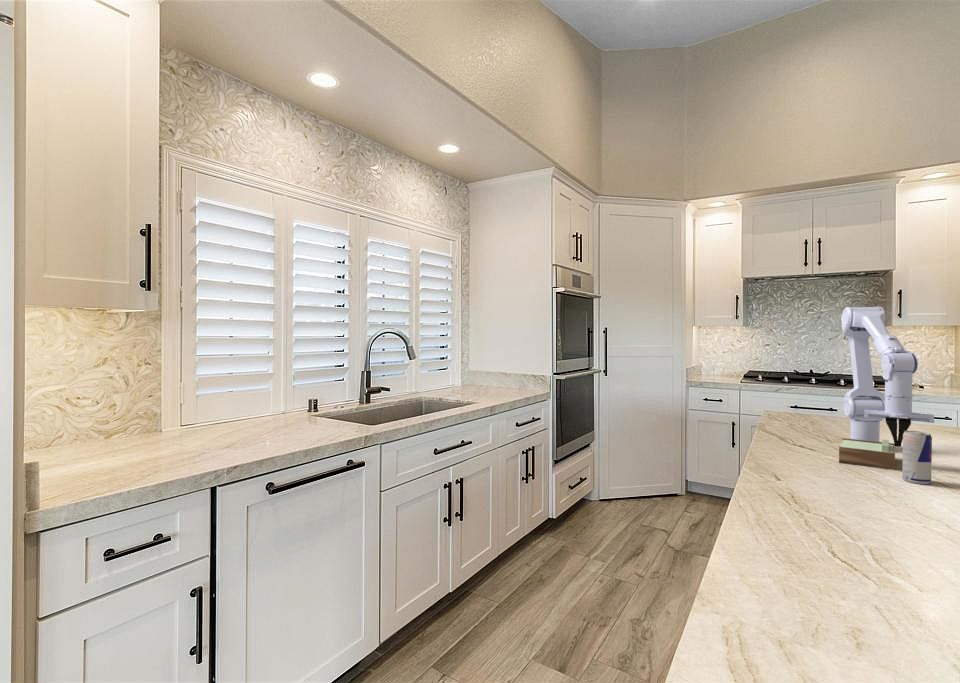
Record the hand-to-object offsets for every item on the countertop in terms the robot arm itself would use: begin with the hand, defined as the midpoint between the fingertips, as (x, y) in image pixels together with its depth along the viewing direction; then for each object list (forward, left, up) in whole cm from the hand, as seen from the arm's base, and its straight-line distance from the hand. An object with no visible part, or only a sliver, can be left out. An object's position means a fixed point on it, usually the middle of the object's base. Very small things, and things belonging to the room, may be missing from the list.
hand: (897, 445), depth 136 cm
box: (0, -7, -5) cm, 8 cm away
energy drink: (+16, +3, -5) cm, 17 cm away
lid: (0, -7, -2) cm, 7 cm away
